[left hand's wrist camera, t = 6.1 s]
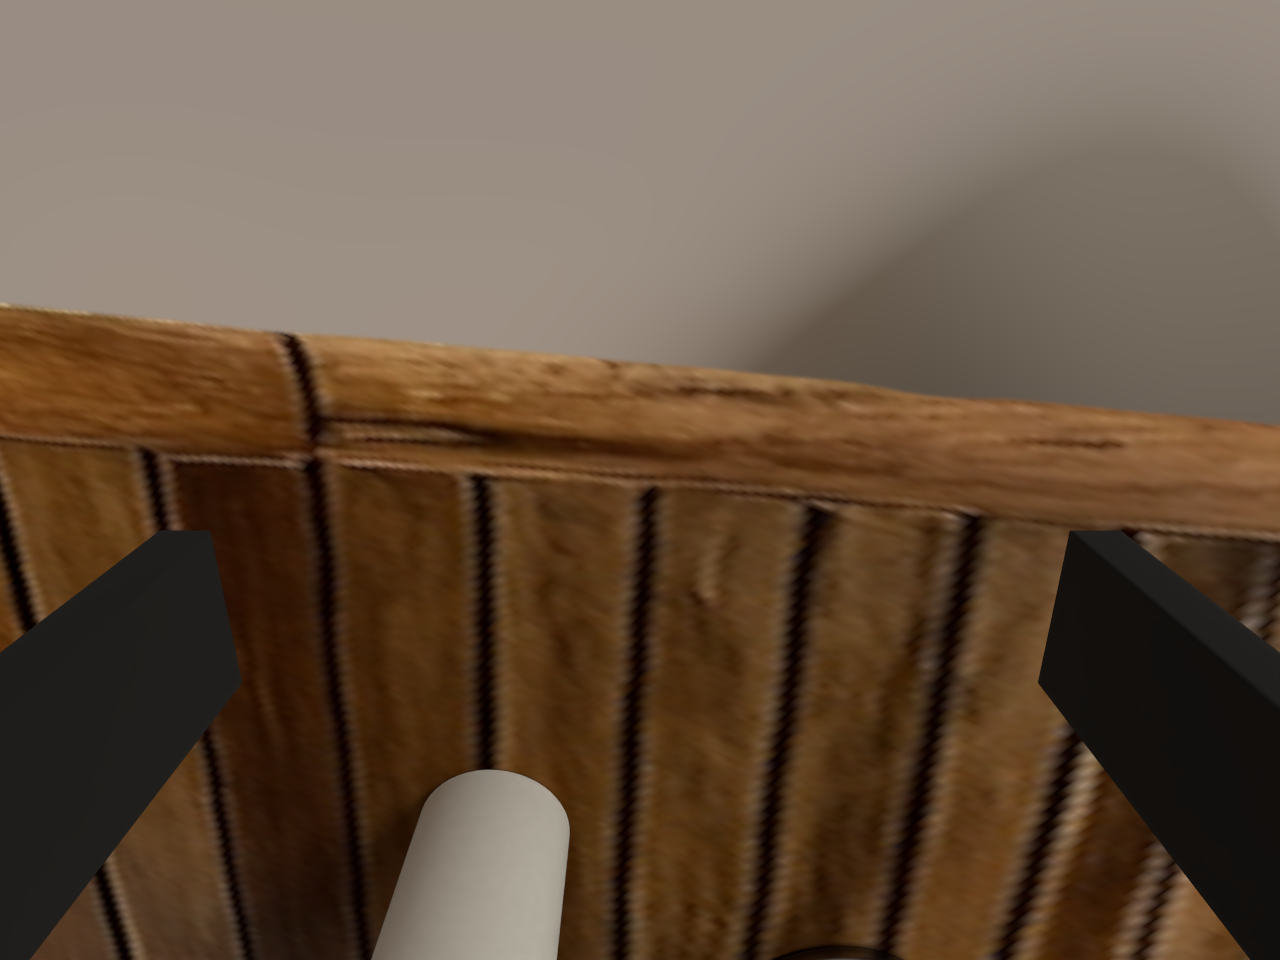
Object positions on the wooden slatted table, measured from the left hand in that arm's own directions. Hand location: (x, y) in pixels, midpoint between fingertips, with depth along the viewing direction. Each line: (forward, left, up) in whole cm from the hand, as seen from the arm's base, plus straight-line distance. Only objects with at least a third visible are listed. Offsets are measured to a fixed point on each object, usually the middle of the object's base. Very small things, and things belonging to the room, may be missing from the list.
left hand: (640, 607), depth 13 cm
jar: (-32, +9, -28) cm, 43 cm away
